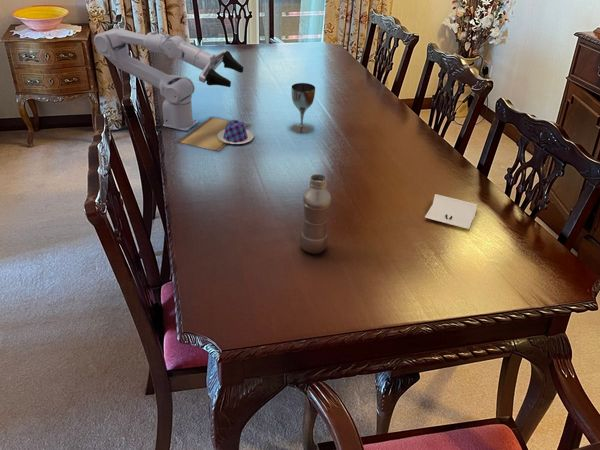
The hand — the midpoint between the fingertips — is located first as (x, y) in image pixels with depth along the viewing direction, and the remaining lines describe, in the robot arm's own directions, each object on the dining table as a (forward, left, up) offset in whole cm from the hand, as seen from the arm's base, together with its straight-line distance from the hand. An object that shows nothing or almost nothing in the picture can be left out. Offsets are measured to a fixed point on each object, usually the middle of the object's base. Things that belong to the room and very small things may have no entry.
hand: (236, 77), depth 174 cm
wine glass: (+17, +16, -21) cm, 31 cm away
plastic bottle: (+45, -48, -21) cm, 69 cm away
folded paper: (+74, -18, -21) cm, 79 cm away
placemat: (-8, -1, -21) cm, 22 cm away
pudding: (0, -1, -21) cm, 21 cm away
